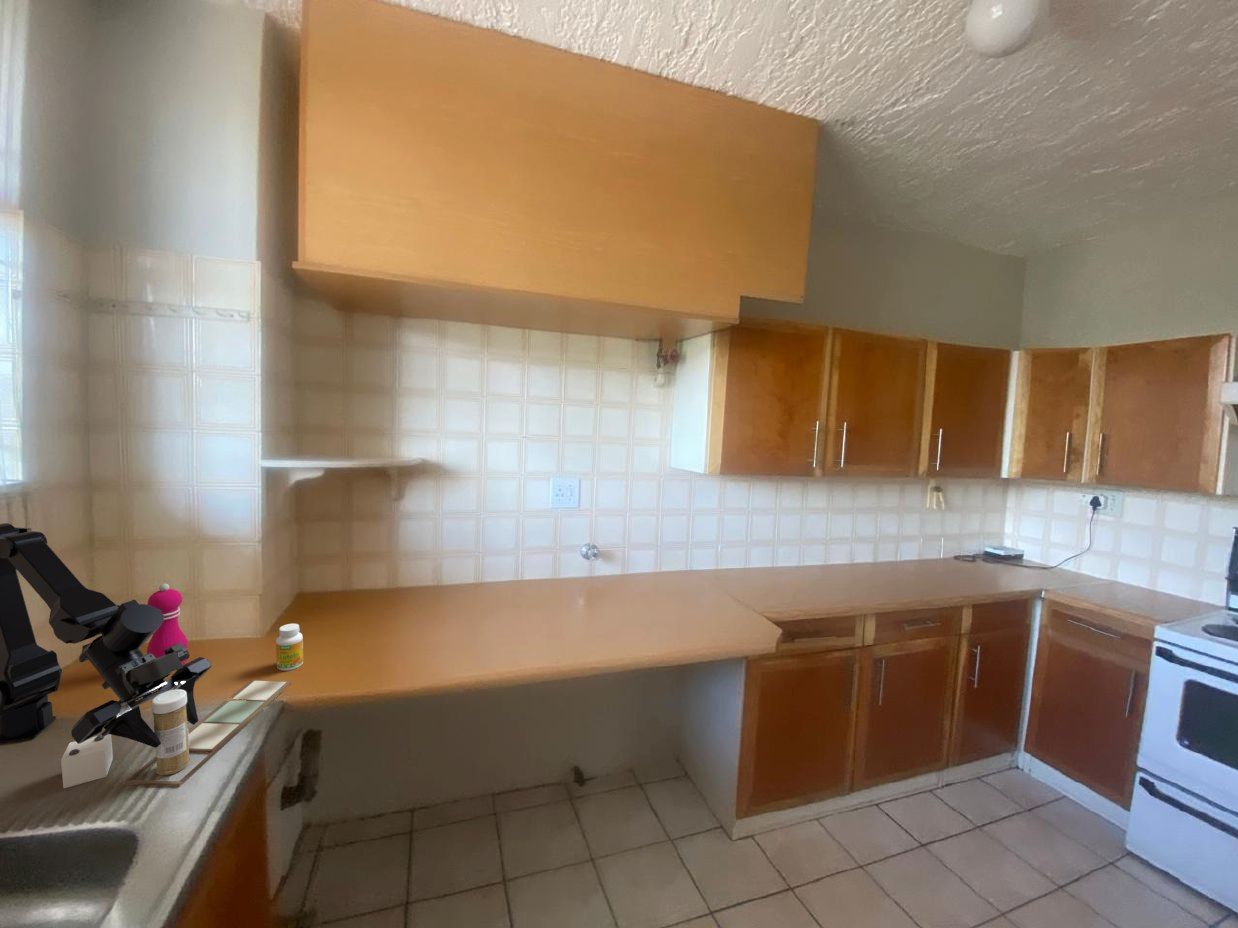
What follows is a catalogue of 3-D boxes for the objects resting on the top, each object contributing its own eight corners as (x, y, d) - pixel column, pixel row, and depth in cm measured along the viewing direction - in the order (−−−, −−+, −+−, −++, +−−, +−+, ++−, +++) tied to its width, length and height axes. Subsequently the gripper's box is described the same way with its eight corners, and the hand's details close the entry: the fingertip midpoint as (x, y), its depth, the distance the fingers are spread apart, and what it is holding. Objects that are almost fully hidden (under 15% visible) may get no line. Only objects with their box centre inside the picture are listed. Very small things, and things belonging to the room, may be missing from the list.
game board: (123, 784, 84) (123, 781, 84) (250, 682, 114) (250, 679, 114) (179, 786, 84) (179, 783, 84) (291, 683, 114) (291, 681, 114)
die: (63, 788, 82) (60, 756, 82) (72, 769, 86) (69, 739, 86) (106, 776, 85) (104, 745, 84) (112, 758, 89) (110, 729, 88)
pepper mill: (155, 676, 114) (150, 592, 111) (142, 666, 117) (137, 584, 115) (194, 663, 120) (190, 582, 118) (180, 654, 124) (176, 575, 121)
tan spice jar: (193, 754, 91) (189, 685, 89) (187, 771, 87) (183, 699, 86) (159, 762, 89) (155, 691, 87) (152, 780, 85) (147, 706, 83)
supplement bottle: (277, 673, 118) (276, 634, 117) (276, 662, 122) (275, 625, 121) (304, 667, 121) (303, 629, 120) (302, 657, 125) (301, 620, 124)
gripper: (79, 665, 77) (142, 745, 76) (201, 615, 95) (253, 679, 94) (44, 704, 79) (104, 782, 79) (169, 648, 97) (220, 711, 97)
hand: (177, 733), depth 87 cm, fingers open, 6 cm apart
